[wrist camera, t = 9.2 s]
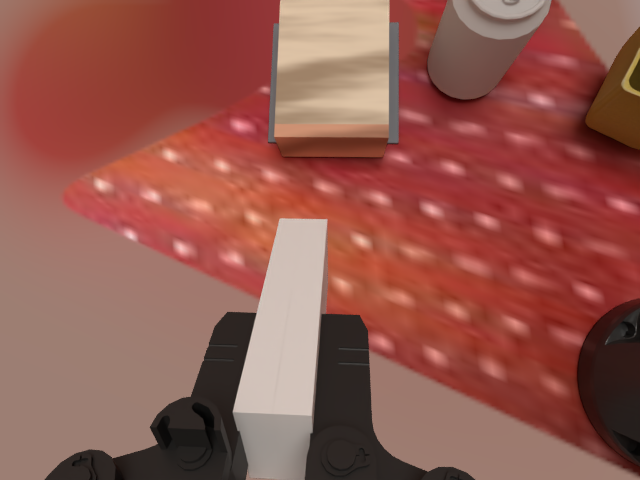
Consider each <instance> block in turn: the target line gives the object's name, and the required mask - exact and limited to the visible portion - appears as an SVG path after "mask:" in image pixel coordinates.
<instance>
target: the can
mask: <svg viewBox="0 0 640 480" xmlns="http://www.w3.org/2000/svg"><path fill="white" fill-rule="evenodd" d="M550 4H551V0H448V1H447V4H446V7H445V9H444V12H443V15H442V18H441V21H440V24H439V27H438V29H437V32H436V35H435V38H434V41H433V44H432V46H431V49H430V52H429V56H428V60H427V65H428V73H429V75H430V77H431V80H432V82H433V83H434V84H435V85H436V86H437V87H438V89H439V90H440V91H442V92H443V93H445V94H447V95H449V96H451V97H454V98H459V99H475V98H478V97H481V96H483V95H486V94H487V93H489V92H490V91H491V90H492V89H494V88H495V87H496V85H497V84H498V83H499V81H500V80H501V79H502V77H503V76H504V74H505V73H506V72H507V70H508V69H509V67H510V66H511V65H512V63H513V62H514V60H515V59H516V58H517V56H518V55H519V54H520V52H521V51H522V49H523V48H524V47H525V45H526V44H527V42H528V41H529V40H530V38H531V37H532V35H533V34H534V33H535V31H536V30H537V29H538V27H539V26H540V24H541V23H542V21H543V20H544V18H545V17H546V15H547V14H548V12H549V8H550Z"/></svg>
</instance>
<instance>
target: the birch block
mask: <svg viewBox="0 0 640 480" xmlns="http://www.w3.org/2000/svg"><path fill="white" fill-rule="evenodd" d="M274 138H275V140H276V143H277V145H278V147H279V150H280V152H281V155H282V157H383V156H384V152H385V149H386V145H387V142H388V138H389V0H280V18H279V40H278V62H277V85H276V107H275V129H274Z"/></svg>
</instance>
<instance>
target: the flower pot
mask: <svg viewBox="0 0 640 480" xmlns="http://www.w3.org/2000/svg"><path fill="white" fill-rule="evenodd" d="M586 125H587V126H588V127H589V128H591V129H594V130H596V131H598V132H600V133H602V134H604V135H606V136H608V137H611V138H613V139H615V140H617V141H619V142H621V143H623V144H625V145H627V146H629V147H631V148H635V149H639V150H640V27H639V28H638V29H637V30H636V31H635V33H634V34H633V35H632V36H631V37H630V38H629V40H628V41H627V42H626V43H625V44H624V46H623V47H622V49H621V50H620V52H619V53H618V55H617V56H616V58H615V60H614V62H613V64H612V66H611V68H610V70H609V72H608V74H607V76H606V78H605V80H604V82H603V84H602V86H601V88H600V90H599V92H598V94H597V96H596V98H595V100H594V102H593V104H592V106H591V108H590V109H589V111H588V113H587V116H586Z"/></svg>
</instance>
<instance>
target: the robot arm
mask: <svg viewBox="0 0 640 480" xmlns="http://www.w3.org/2000/svg"><path fill="white" fill-rule="evenodd" d="M327 288H328V251H327V219H280V220H279V224H278V228H277V233H276V237H275V241H274V245H273V249H272V253H271V257H270V261H269V265H268V269H267V273H266V278H265V282H264V286H263V290H262V294H261V298H260V302H259V306H258V310H257V313H241V312H227V313H226V314H225V315H224V317H223V318H222V319H221V320H220V321H219V322H218V323H217V325H216V326H215V328H214V330H213V333H212V336H211V339H210V342H209V347H208V348H207V351H206V354H205V357H204V361H203V362H202V365H201V368H200V371H199V374H198V377H197V380H196V383H195V386H194V389H193V392H192V395H191V397H186V398H181V399H179V400H177V401H175V402H173V403H171V404H169V405H168V406H166V407H165V408H164V409H163V410H162V411H161V412H160V413H159V414H158V415H157V416H156V418H155V419H154V421H153V423H152V425H151V426H150V428H151V431H152V432H153V435H154V436H155V438H156V440H157V442H158V444H157V445H155V446H152V447H150V448H148V449H145V450H141V451H138V452H134V453H131V454H127V455H123V456H120V457H116V458H113V459H112V457H111V456H109V455H108V454H106V453H105V452H103V451H100V450H87V451H83V452H79V453H76V454H74V455H72V456H71V457H69V458H67V459H66V460H64V461H62V462H61V463H60V464H59V465H58V466H57V467H56V468H55V469H54V470H53V471H52V472H51V473H50V474H49V475H48V476H47V478H46V479H45V480H246V475H247V469H248V473H249V476H250V478H263V479H280V480H475V479H474V478H472V477H471V476H470V475H469V474H468V473H466V472H464V471H461V470H458V469H456V468H454V467H438V468H435V469H433V470H431V471H429V472H427V471H425V470H422V469H420V468H417V467H415V466H412V465H410V464H408V463H405V462H403V461H401V460H399V459H397V458H395V457H393V456H392V455H391V454H390V453H388V452H387V451H386V450H385V449H384V448H383V446H382V445H381V444H380V442H379V441H378V440H377V437H376V435H375V433H374V430H373V424H372V413H371V412H372V411H371V389H370V368H369V344H368V330H367V328H366V326H365V324H364V323H363V321H362V319H361V317H360V315H342V314H326V304H327ZM578 383H579V390H580V395H581V399H582V402H583V406H584V408H585V411H586V413H587V415H588V417H589V419H590V421H591V423H592V425H593V426H594V428H595V429H596V431H597V432H598V433H599V435H600V436H601V437H602V438H603V439H604V441H605V442H606V443H607V444H608V445H609V446H610V447H611V448H613V449H614V450H615V451H616V452H617V453H619V454H620V455H621V456H623V457H624V458H626V459H627V460H629V461H631V462H632V463H634V464H636V465H638V466H639V467H640V299H636V300H632V301H629V302H626V303H624V304H622V305H620V306H618V307H616V308H614V309H613V310H611V311H610V312H608V313H607V314H606V315H605V316H603V317H602V318H601V319H600V320H599V321H598V322H597V324H596V325H595V326H594V327H593V329H592V330H591V331H590V333H589V335H588V337H587V339H586V341H585V343H584V345H583V348H582V351H581V355H580V359H579V366H578Z"/></svg>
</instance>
